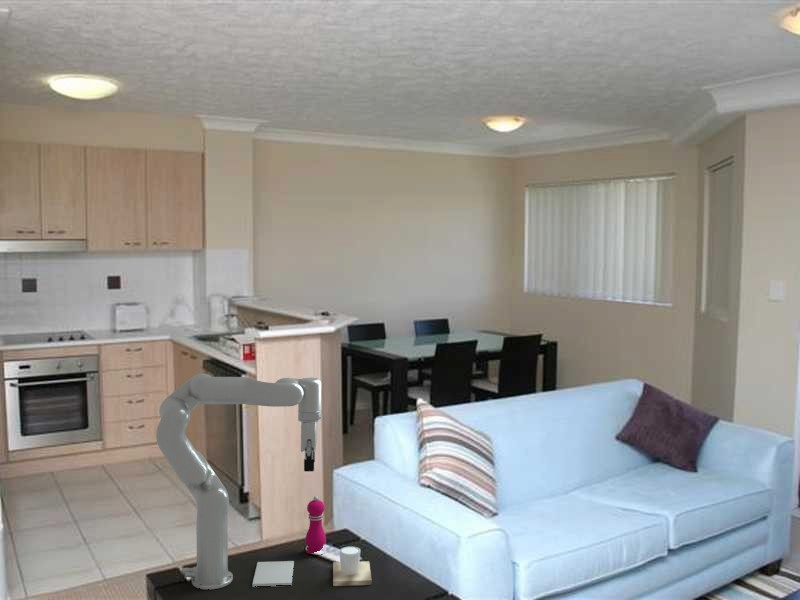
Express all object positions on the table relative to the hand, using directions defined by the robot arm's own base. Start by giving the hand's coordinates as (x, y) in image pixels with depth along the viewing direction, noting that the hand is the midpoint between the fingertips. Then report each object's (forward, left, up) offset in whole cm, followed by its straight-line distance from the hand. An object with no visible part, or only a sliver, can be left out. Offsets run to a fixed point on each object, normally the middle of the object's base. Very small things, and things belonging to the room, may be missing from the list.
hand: (309, 466), depth 239 cm
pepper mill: (+2, +10, -34) cm, 35 cm away
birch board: (+14, -9, -33) cm, 37 cm away
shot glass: (+13, -9, -32) cm, 36 cm away
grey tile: (-11, -7, -33) cm, 36 cm away
